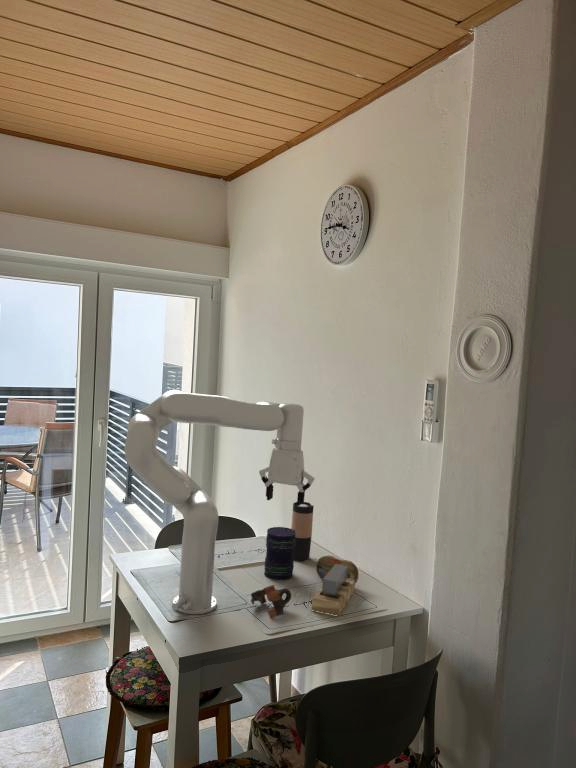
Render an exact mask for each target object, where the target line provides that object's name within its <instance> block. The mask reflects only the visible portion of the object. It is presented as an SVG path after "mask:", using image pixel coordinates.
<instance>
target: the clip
mask: <svg viewBox="0 0 576 768" xmlns="http://www.w3.org/2000/svg"><path fill="white" fill-rule="evenodd" d="M347 572H348V566H343V565H338V564H335V565H334V567H333V568H332V569H331V570H330V571H329V573H328V574H327V575H326V576H325V577H324V578H323V580H322V586H321V587H322V592H323V596H327V597H331V598H336V599H337V595H338V590H339V589H340V588H341V586H345V587H346V579H347Z"/></svg>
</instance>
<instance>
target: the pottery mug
mask: <svg viewBox="0 0 576 768" xmlns="http://www.w3.org/2000/svg"><path fill="white" fill-rule="evenodd" d="M284 594H285V595H286V596H285V598H284V599H283V595H284ZM250 596H251V599H250V602H251V604H252V605H254V604H255V602H259V603H260V604H261V605H264V604H265V603H266V602H267V601H269V602H271V604H272V606H273V608H271V609H269V610H268V611H267V613H268V616H269V619H272V618H273V619H274V618H275V617H278V616H281V615H283V614H284V608H285V606H286V605H287V604H289V602H290V601H291V599H292V592H291V590H290V589H288V588H282V589H276V587H275V585H274V584H272V585H269V586H266V587H263V589H261V590H260V589H258V590H256V591H254V592H252V593H250Z"/></svg>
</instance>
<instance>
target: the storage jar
mask: <svg viewBox="0 0 576 768" xmlns="http://www.w3.org/2000/svg"><path fill="white" fill-rule="evenodd" d="M266 532H267V534H266V539H265V542H266V543H265V547H266V553H265V555H266V556H265V558H264V567H263V568H264V572H263V575H264V577H265V578H267V579H269V580H274V581H279V580H283V581H287V580H288V579H289V580H291V579H292V578H293V577H292V576H293V573H294V566H295V565H294V563H295V560H294V559H293V554H294V549H295V535H296V532H295V531H294V530H293V529H291V528H289V527H285V526H284V527H283V526H274V527H269V528H268V529H267V530H266ZM290 578H291V579H290Z"/></svg>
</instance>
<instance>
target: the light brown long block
mask: <svg viewBox="0 0 576 768" xmlns="http://www.w3.org/2000/svg"><path fill="white" fill-rule="evenodd" d="M355 587H356V583H355V580H354V579H349V578H347V579H346V587H345V586H341V588H340V589H339V590H338V595H337V599H336V598H331V597H327V596H323V592H322V586H321V587H320V588H319V589H318V591H317V592H316V593H315V594H314V596H313V597H312V602H311V611H312V610H314V611H319V612H323V613H329V614H333V615H337V616H338V615H339V614H340V615H341V613H342V612H343V610H344V609H345V607H346V606H345V605H348V603H347V602H349V601H350V600H349V599H351V598H352V597H353V595H354V593H355V591H356V589H355ZM351 596H352V597H351ZM343 608H344V609H343ZM342 609H343V610H342ZM341 611H342V612H341ZM340 612H341V613H340ZM340 615H339V616H340Z"/></svg>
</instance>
